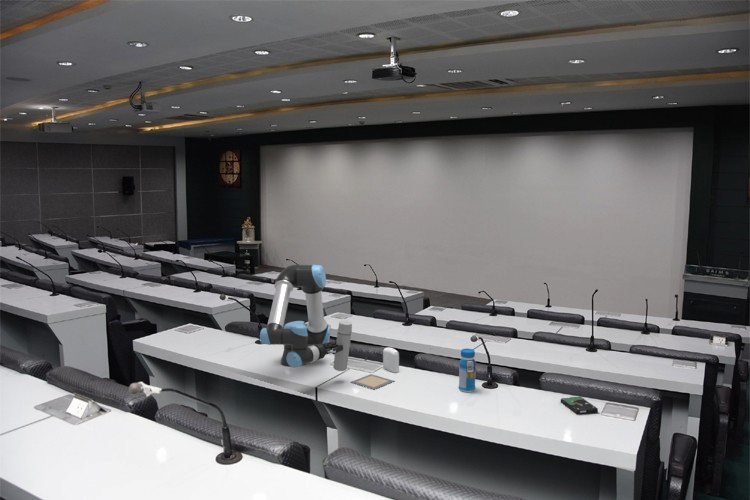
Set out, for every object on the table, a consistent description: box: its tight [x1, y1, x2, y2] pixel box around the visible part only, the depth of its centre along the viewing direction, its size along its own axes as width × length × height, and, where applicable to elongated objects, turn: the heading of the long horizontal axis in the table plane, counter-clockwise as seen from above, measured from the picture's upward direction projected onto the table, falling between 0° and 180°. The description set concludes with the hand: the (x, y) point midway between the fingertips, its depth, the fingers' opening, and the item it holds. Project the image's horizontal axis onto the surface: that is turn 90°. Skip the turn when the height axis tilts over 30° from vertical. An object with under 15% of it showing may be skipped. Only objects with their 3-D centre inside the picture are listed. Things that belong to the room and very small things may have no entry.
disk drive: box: [560, 396, 599, 416], centre depth 250 cm, size 10×3×15 cm
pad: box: [350, 373, 395, 391], centre depth 282 cm, size 16×16×1 cm
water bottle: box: [333, 320, 353, 372], centre depth 280 cm, size 9×8×25 cm
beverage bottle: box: [458, 348, 477, 393], centre depth 271 cm, size 8×8×20 cm
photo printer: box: [382, 347, 400, 373], centre depth 301 cm, size 10×4×12 cm, turn 39°
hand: (348, 342), depth 285 cm, fingers closed on water bottle
